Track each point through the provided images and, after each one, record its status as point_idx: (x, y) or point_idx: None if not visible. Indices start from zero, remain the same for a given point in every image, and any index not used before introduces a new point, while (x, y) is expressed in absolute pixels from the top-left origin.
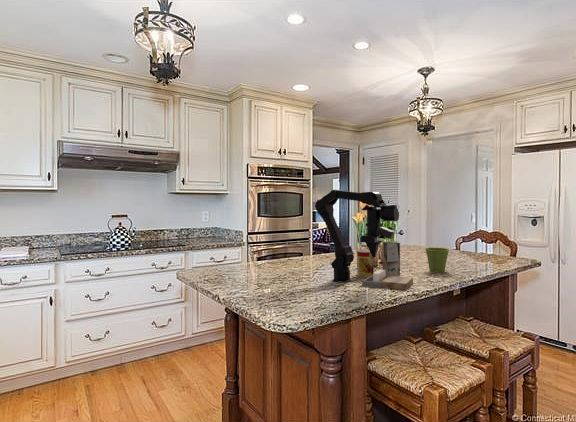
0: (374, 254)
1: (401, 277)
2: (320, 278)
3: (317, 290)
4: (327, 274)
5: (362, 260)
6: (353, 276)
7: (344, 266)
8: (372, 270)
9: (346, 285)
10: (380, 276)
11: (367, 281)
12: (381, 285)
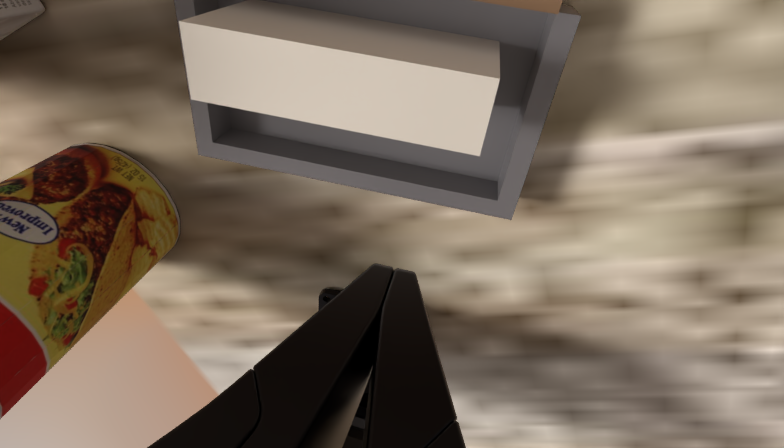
0: (422, 326)
1: None
2: None
3: (702, 430)
4: None
5: (75, 315)
6: (205, 275)
7: (365, 417)
8: (76, 173)
9: (519, 299)
10: (430, 52)
11: (520, 172)
12: None
